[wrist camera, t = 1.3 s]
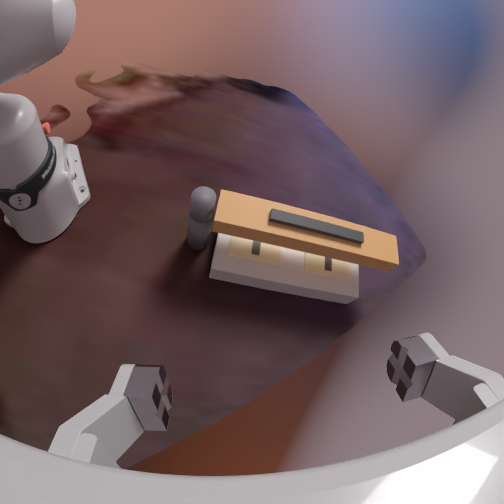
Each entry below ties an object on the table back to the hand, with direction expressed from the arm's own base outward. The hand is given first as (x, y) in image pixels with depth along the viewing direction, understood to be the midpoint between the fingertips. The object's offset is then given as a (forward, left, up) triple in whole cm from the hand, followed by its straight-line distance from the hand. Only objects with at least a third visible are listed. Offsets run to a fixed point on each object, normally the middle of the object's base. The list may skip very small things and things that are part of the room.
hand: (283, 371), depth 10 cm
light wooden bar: (-14, +18, -26) cm, 34 cm away
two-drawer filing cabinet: (-16, +16, -34) cm, 41 cm away
